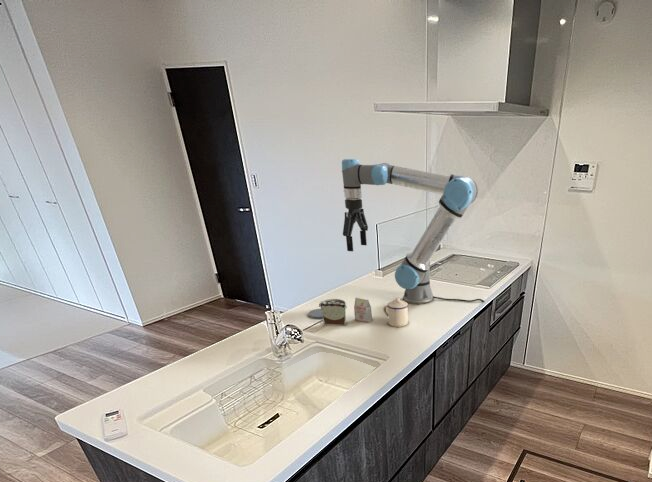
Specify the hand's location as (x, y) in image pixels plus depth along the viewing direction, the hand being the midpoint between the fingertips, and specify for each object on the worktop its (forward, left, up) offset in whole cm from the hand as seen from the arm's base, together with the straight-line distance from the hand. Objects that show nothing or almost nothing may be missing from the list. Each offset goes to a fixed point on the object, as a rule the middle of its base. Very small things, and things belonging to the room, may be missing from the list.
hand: (357, 248), depth 202 cm
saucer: (+10, +22, -27) cm, 36 cm away
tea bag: (-12, +21, -27) cm, 36 cm away
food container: (-2, +28, -27) cm, 39 cm away
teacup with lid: (-27, +19, -27) cm, 42 cm away
